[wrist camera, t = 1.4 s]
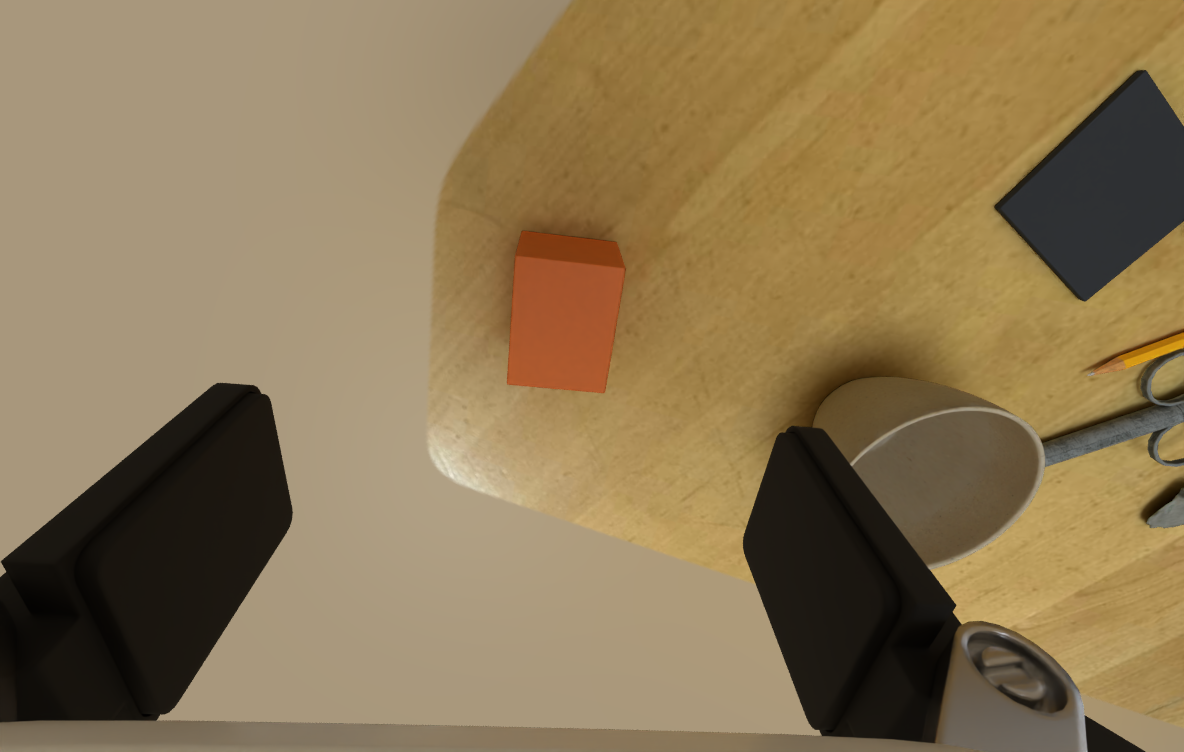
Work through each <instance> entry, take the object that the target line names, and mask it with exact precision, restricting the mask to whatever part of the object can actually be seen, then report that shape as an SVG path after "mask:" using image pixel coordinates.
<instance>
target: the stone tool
mask: <svg viewBox="0 0 1184 752" xmlns="http://www.w3.org/2000/svg"><path fill="white" fill-rule="evenodd" d="M1146 524H1149V525H1150V528H1156V527H1163V528H1168V527H1176V526H1180V525H1184V488H1181V491H1180V492H1179V493H1178V494H1177V495H1176V497H1175V498H1174V500H1173V501H1172V502H1170V503H1168V504H1167V505H1165V506H1164V507H1162V508H1161V509H1159V510H1158V511H1157V512H1156V513H1154V514H1153V515H1152V516H1151V517H1150V518H1149V519H1148V520H1147V523H1146Z"/></svg>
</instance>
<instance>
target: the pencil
mask: <svg viewBox="0 0 1184 752" xmlns="http://www.w3.org/2000/svg"><path fill="white" fill-rule="evenodd" d="M1181 348H1184V332H1183V333H1181V334H1178V335H1175V336H1172V337H1170V338H1167V339H1164V340H1162V341H1159V342H1156V343H1153V344H1151V345H1148V346H1145V347H1143V348H1140V349H1137V350H1134V351H1132V352H1129V353H1126V354H1124V355H1121V356H1118V357H1116V358H1114V359H1113V360H1111V361H1109V362H1108V363H1106V364H1104V365H1102V366H1101V367H1099V368H1097V369H1096V370H1094V371H1092V372H1091V373H1089V374H1088V375H1097V374H1103V373H1108V372H1114V371H1120V370H1124V369H1126V368H1129V367H1132V366H1135V365H1137V364H1140V363H1143V362H1146V361H1148V360H1151V359H1154V358H1157V357H1159V356H1162V355H1165V354H1168V353H1170V352H1173V351H1176V350H1179V349H1181ZM1088 375H1087V376H1088Z"/></svg>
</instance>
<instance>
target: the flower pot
mask: <svg viewBox="0 0 1184 752" xmlns="http://www.w3.org/2000/svg"><path fill="white" fill-rule="evenodd" d="M812 427H814V428H822V429H823V430H824V431H825V432H826V433H827V434H828V435H829V437H830V438H831V439H832V441H833V442H834V443H835V445H836V446H837V447H838V449H839V450H840V451H841V453H842V454H843V455H844V457H845V458H846V459H847V461H848V462H849V463H850V465H851V466H852V467H853V469H854V470H855V471H856V473H857V474H858V475H859V477H860V478H861V479H862V481H863V482H864V483H865V485H866V486H867V487H868V489H869V490H870V491H871V493H872V494H873V495H874V497H875V498H876V499H877V500H878V502H879V503H880V504H881V506H882V507H883V508H884V510H885V511H886V512H887V514H888V515H889V516H890V518H891V519H892V520H893V522H894V523H895V524H896V526H897V527H898V528H899V530H900V531H901V532H902V534H903V535H904V536H905V538H906V539H907V540H908V542H909V543H910V544H911V546H912V547H913V548H914V550H915V551H916V552H917V554H918V555H919V556H920V558H921V559H922V560H923V562H924V563H925V564H926V566H927V567H928V568H929V570H931V569H935V568H938V567H942V566H945V565H948V564H951V563H953V562H955V561H958V560H960V559H962V558H964V557H967V556H969V555H971V554H973V553H975V552H976V551H978V550H980V549H982V548H983V547H985V546H986V545H988V544H989V543H991V542H992V541H994V540H995V539H997V538H998V537H999V536H1000V535H1002V534H1003V533H1004V532H1005V531H1006V530H1007V529H1008V528H1010V527H1011V526H1012V525H1013V524H1014V523H1015V522H1016V520H1017V519H1018V518H1019V517H1020V516H1021V515H1022V514H1023V512H1024V511H1025V510H1026V508H1027V507H1028V506H1029V504H1030V503H1031V501H1032V499H1033V498H1034V496H1035V494H1036V492H1037V490H1038V488H1039V486H1040V484H1041V481H1042V478H1043V475H1044V469H1045V454H1044V448H1043V445H1042V442H1041V440H1040V438H1039V436H1038V434H1037V433H1036V432H1035V430H1034V429H1033V428H1032V427H1031V426H1030V425H1029V424H1028V423H1027V422H1025V421H1024V420H1023V419H1021V418H1019V417H1018V416H1016V415H1014V414H1012V413H1010V412H1009V411H1007V410H1005V409H1003V408H1001V407H999V406H997V405H995V404H993V403H990V402H988V401H986V400H984V399H982V398H979V397H977V396H974V395H972V394H969V393H966V392H963V391H960V390H957V389H954V388H951V387H948V386H944V385H940V384H936V383H932V382H927V381H922V380H916V379H909V378H901V377H870V378H862V379H857V380H854V381H851V382H848V383H846V384H844V385H842V386H840V387H839V388H837V389H836V390H834V391H833V392H832V393H831V394H829V395H828V396H827V397H826V398H825V400H824V401H823V402H822V403H821V405H820V407H819V408H818V410H817V413H816V416H815V419H814V422H813V426H812Z"/></svg>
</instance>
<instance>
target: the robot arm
mask: <svg viewBox="0 0 1184 752" xmlns="http://www.w3.org/2000/svg"><path fill="white" fill-rule="evenodd" d="M292 513H293V512H292V505H291V500H290V495H289V490H288V485H287V481H286V475H285V470H284V465H283V460H282V455H281V450H280V445H279V440H278V435H277V430H276V425H275V420H274V415H273V410H272V405H271V401H270V399H269V397H268V396H267V395H265V394H261V392H260V390H259V389H258V387H256V386H254V385H242V384H230V383H217V384H215V385H213V386H212V387H210V388H209V389H208V390H207V391H206V392H204V393H203V394H202V395H201V396H200V397H198V398H197V399H196V400H195V401H194V402H192V403H191V404H190V405H189V406H188V407H186V408H185V409H184V410H183V411H182V412H180V413H179V414H178V415H177V416H176V417H174V418H173V419H172V420H171V421H169V422H168V423H167V424H166V425H165V426H163V427H162V428H161V429H160V430H159V431H157V432H156V433H155V434H154V435H153V436H151V437H150V438H149V439H148V440H147V441H145V442H144V443H143V444H142V445H141V446H139V447H138V448H137V449H136V450H135V451H133V452H132V453H131V454H130V455H129V456H127V457H126V458H125V459H124V460H122V462H120V463H119V464H118V465H117V466H115V467H114V468H113V469H112V470H110V471H109V472H108V473H107V474H106V475H104V476H103V477H102V478H101V479H100V480H98V481H97V482H96V483H95V484H94V485H92V486H91V487H90V488H89V489H87V490H86V491H85V492H84V493H83V494H81V495H80V496H79V497H78V498H77V499H75V500H74V501H73V502H72V503H71V504H69V505H68V506H67V507H66V508H65V509H63V510H62V511H61V512H60V513H59V514H57V515H56V516H55V517H54V518H53V519H51V520H50V521H49V522H48V523H47V524H45V525H44V526H43V527H42V528H40V529H39V530H38V531H37V532H36V533H35V534H33V535H32V536H31V537H30V538H28V539H27V540H26V541H25V542H24V543H22V544H21V545H20V546H19V547H18V548H16V549H15V550H14V551H13V552H12V553H10V554H9V555H8V556H7V557H5V558H4V559H3V560H2V561H1V563H2V565H3V567H4V568H5V570H6V573H5V574H3V575H2V576H1V577H0V752H1145V751H1143V750H1142V749H1140V748H1139V747H1137V746H1135V745H1133V744H1132V743H1130V742H1129V741H1127V740H1125V739H1123V738H1122V737H1120V736H1119V735H1117V734H1115V733H1114V732H1112V731H1110V730H1109V729H1107V728H1105V727H1104V726H1102V725H1100V724H1098V723H1097V722H1095V721H1093V720H1092V719H1090V718H1088V717H1087V716H1085V715H1084V706H1083V703H1082V699H1081V696H1080V692H1079V690H1078V688H1077V687H1076V685H1075V684H1074V682H1073V681H1072V679H1071V677H1070V676H1069V674H1068V673H1067V672H1066V671H1065V670H1064V669H1063V668H1062V667H1061V666H1060V665H1059V664H1058V663H1057V661H1056V660H1055V659H1054V658H1053V657H1051V656H1050V655H1049V654H1048V653H1046V652H1045V651H1044V650H1043V649H1041V648H1040V647H1039V646H1038V645H1036V644H1035V643H1033V642H1032V641H1030V640H1028V639H1027V638H1025V637H1023V636H1022V635H1020V634H1018V633H1017V632H1014V631H1012V630H1010V629H1007V628H1005V627H1002V626H1000V625H997V624H993V623H988V622H984V621H973V622H967V623H965V624H963V625H962V624H961V623H960V622H959V620H958V619H957V618H956V616H955V615H954V614H953V610H954V609H955V607H956V604H955V603H954V601H953V600H952V599H951V597H950V596H949V595H948V593H947V592H946V591H945V589H944V588H943V587H942V585H941V584H940V583H939V581H938V580H937V579H936V578H935V576H934V575H933V574H932V572H931V571H930V570H929V568H928V567H927V566H926V564H925V563H924V562H923V560H922V559H921V558H920V556H919V555H918V554H917V552H916V551H915V550H914V548H913V547H912V546H911V544H910V543H909V542H908V540H907V539H906V538H905V536H904V535H903V534H902V532H901V531H900V530H899V528H898V527H897V526H896V524H895V523H894V522H893V520H892V519H891V518H890V516H889V515H888V514H887V512H886V511H885V510H884V508H883V507H882V506H881V504H880V503H879V502H878V500H877V499H876V498H875V497H874V495H873V494H872V493H871V491H870V490H869V489H868V487H867V486H866V485H865V483H864V482H863V481H862V479H861V478H860V477H859V475H858V474H857V473H856V471H855V470H854V469H853V467H852V466H851V465H850V463H849V462H848V461H847V459H846V458H845V457H844V455H843V454H842V453H841V451H840V450H839V449H838V447H837V446H836V445H835V443H834V442H833V441H832V439H831V438H830V437H829V435H828V434H827V433H826V432H825V431H824V430H823V429H822V428H814V427H801V426H791V427H789V428H788V429H787V430H786V432H785V433H779V435H778V436H777V438H776V440H775V443H774V446H773V449H772V452H771V455H770V458H769V461H768V464H767V467H766V470H765V473H764V476H763V479H762V482H761V485H760V488H759V491H758V494H757V497H756V500H755V503H754V506H753V509H752V512H751V515H750V518H749V521H748V524H747V527H746V530H745V533H744V537H743V549H744V554H745V557H746V560H747V562H748V565H749V567H750V570H751V573H752V575H753V578H754V581H755V583H756V586H757V588H758V591H759V594H760V596H761V599H762V602H763V604H764V607H765V610H766V612H767V615H768V618H769V620H770V623H771V625H772V628H773V630H774V633H775V636H776V639H777V641H778V644H779V647H780V649H781V652H782V654H783V657H784V660H785V662H786V665H787V667H788V670H789V673H790V676H791V678H792V681H793V684H794V686H795V689H796V691H797V694H798V697H799V699H800V702H801V705H802V707H803V710H804V712H805V715H806V718H807V720H808V722H809V724H810V725H811V727H812V728H814V729H815V730H820V733H821V735H822V736H810V735H809V736H808V735H788V734H756V733H719V732H684V731H648V730H615V729H614V730H613V729H573V728H531V727H529V728H527V727H487V726H485V727H484V726H440V725H395V724H394V725H393V724H343V723H338V724H337V723H285V722H226V721H156V720H157V719H158V717H159V716H160V714H166V713H169V712H170V711H171V710H172V709H173V708H174V707H175V706H176V705H177V703H178V702H179V700H180V699H181V697H182V696H183V694H184V693H185V691H186V689H187V688H188V686H189V685H190V683H191V682H192V680H193V678H194V677H195V675H196V674H197V672H198V671H199V669H200V667H201V666H202V664H203V663H204V661H205V660H206V658H207V657H208V655H209V653H210V652H211V650H212V649H213V647H214V645H215V644H216V642H217V641H218V639H219V638H220V636H221V635H222V633H223V631H224V630H225V628H226V627H227V625H228V624H229V622H230V620H231V619H232V617H233V616H234V614H235V613H236V611H237V610H238V608H239V606H240V605H241V603H242V602H243V600H244V599H245V597H246V595H247V594H248V592H249V591H250V589H251V587H252V586H253V584H254V583H255V581H256V580H257V578H258V577H259V575H260V573H261V572H262V570H263V569H264V567H265V566H266V564H267V562H268V561H269V559H270V558H271V556H272V555H273V553H274V551H275V550H276V548H277V547H278V545H279V544H280V542H281V541H282V539H283V537H284V536H285V534H286V533H287V531H288V529H289V527H290V524H291V521H292Z"/></svg>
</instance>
